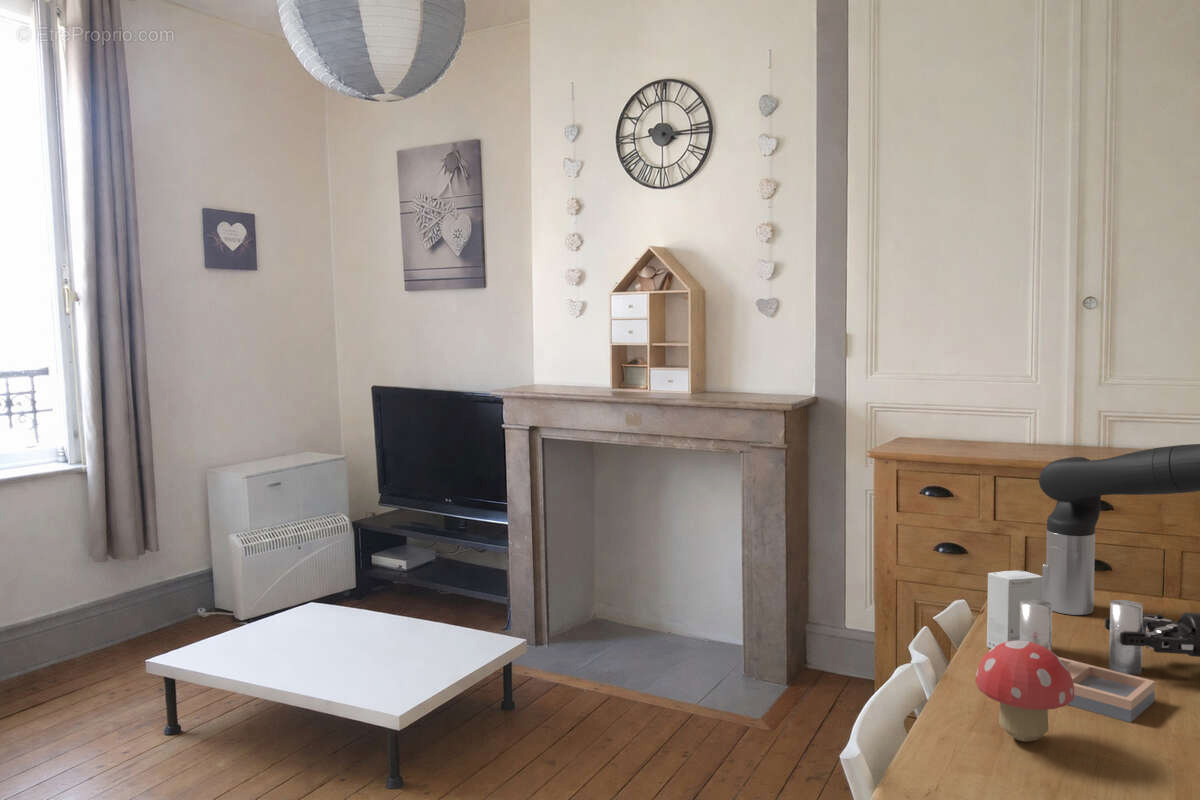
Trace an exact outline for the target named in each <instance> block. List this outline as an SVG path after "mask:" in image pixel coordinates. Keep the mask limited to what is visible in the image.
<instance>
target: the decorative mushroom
mask: <svg viewBox="0 0 1200 800" xmlns="http://www.w3.org/2000/svg"><path fill="white" fill-rule="evenodd" d="M1058 657H1059V656H1058V655H1057V654H1055V653H1054V652H1053V651H1052V652H1051V651H1050V650H1048V649H1046V648H1045V647H1043V646H1041V645H1038V644H1036V643H1033V642H1029V641H1019V640H1018V641H1009V642H1005V643H1002V644H999V645H997V646H996V647H994V648H992V649H991V648H990V649H989V650H988V651H987V652H986V653H985V654H984V656H983V657H982V658H981V660H980V662H979V664H978V667H977V670H976V674H975V681H974V682H975V684H976V687H977V688H978V690H979V691H980V692H981V693H983V694H984V695H986V696H987V697H988V698H990V699H991V700H994V701H996V702H997V703H999V704H1000V705H999V714H998V715H999V716H998V723H999V726H1000V727H1001V729H1002V730H1004V731H1005V733H1007V734H1008V735H1009V736H1010V737H1012V738H1013V739H1015V740H1016V741H1017V740H1018V741H1019V742H1024V743H1030V742H1033V741H1036V740H1040V739H1041V737H1043V736H1044V735H1045V734H1046V733H1048V731H1049V711H1048V710H1055V709H1059V708H1062V707H1065V706H1067V704H1068V703H1070V702H1071V701H1072V700H1073V699H1074V684H1073V680H1072V677H1071V675H1070V673H1069V671H1068V669H1067V668H1066V666H1065V665H1064V664H1063V662H1062V661H1061V660H1060V659H1059V658H1058Z"/></svg>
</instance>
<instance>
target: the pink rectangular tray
mask: <svg viewBox="0 0 1200 800" xmlns="http://www.w3.org/2000/svg"><path fill="white" fill-rule="evenodd" d="M1057 657H1058V658H1059V659H1060V660H1061V661H1062V662H1063V664H1064V665H1065V666H1066V668H1067V669H1068V671H1069V673H1070V675H1071V677H1072V680H1073V684H1074V699H1073V700H1072V701H1071V702H1070V703H1068V704H1067V705H1068V706H1072V707H1075V708H1078V709H1082V710H1086V711H1089V712H1092V713H1095V714H1099V715H1103V716H1107V717H1110V718H1113V719H1117V720H1120V721H1123V722H1128V723H1130V724H1131V723H1132V722H1133V721H1134V720H1136V719H1137V718H1138V717H1139V716H1140V715H1141V714H1142V713H1144V712H1145V711H1146V710H1147V708H1149V707H1150V706H1152V704H1153V703H1154V702H1155V694H1156V693H1155V691H1156V690H1155V684H1156V681H1155V680H1152V679H1148V678H1144V677H1140V676H1136V675H1128V674H1125V673H1121V672H1117V671H1113V670H1111V669H1110V668H1104V667H1100V666H1096V665H1092V664H1089V663H1086V662H1085V663H1084V662H1081V661H1076V660H1073V659H1068V658H1064V657H1061V656H1060V657H1059V656H1057ZM1067 705H1066V706H1067Z"/></svg>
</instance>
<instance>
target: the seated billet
mask: <svg viewBox="0 0 1200 800" xmlns="http://www.w3.org/2000/svg"><path fill="white" fill-rule="evenodd" d="M1052 638H1053V611H1052V604H1050V603H1048V602H1046V601H1041V600H1033V599H1027V600H1022V601H1020V641H1029V642H1033V643H1036V644H1038V645H1041V646H1043V647H1045V648H1046V649H1048V650H1050V651H1051V652H1053V648H1052V647H1053V646H1052V643H1053V639H1052Z"/></svg>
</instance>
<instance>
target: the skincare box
mask: <svg viewBox="0 0 1200 800" xmlns="http://www.w3.org/2000/svg"><path fill="white" fill-rule="evenodd" d="M1042 589H1043V577H1042V575H1039V574H1037V573H1032V572H1029V571H1025V570H1022V569H1021V570H1002V571H996V572H995V571H994V572H988V573H987V611H986V612H987V616H986V617H987V618H986V620H987V622H986V646H987V648H989V649H990V650H991V649H992V648H994V647H996V646H997V645H999V644H1002V643H1005V642H1009V641H1018V640H1019V641H1020V601H1022V600H1027V599H1033V600H1041V601H1042Z"/></svg>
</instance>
